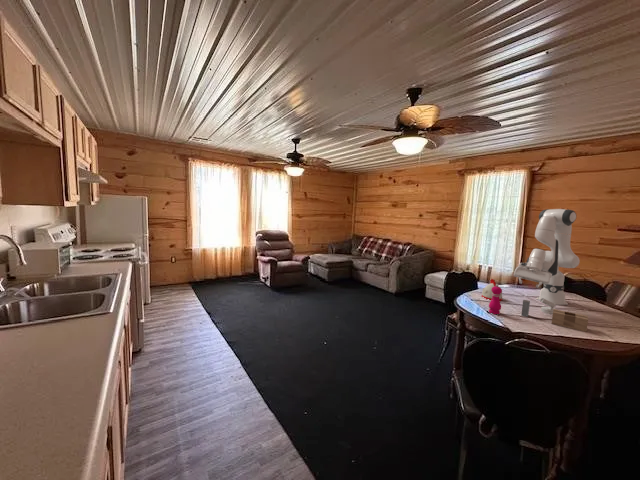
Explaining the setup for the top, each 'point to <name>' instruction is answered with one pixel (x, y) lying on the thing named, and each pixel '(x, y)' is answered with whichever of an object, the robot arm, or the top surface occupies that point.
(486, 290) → the kitchen timer
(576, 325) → the wooden block
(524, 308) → the rail bracket
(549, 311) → the wall hook
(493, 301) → the pepper mill
